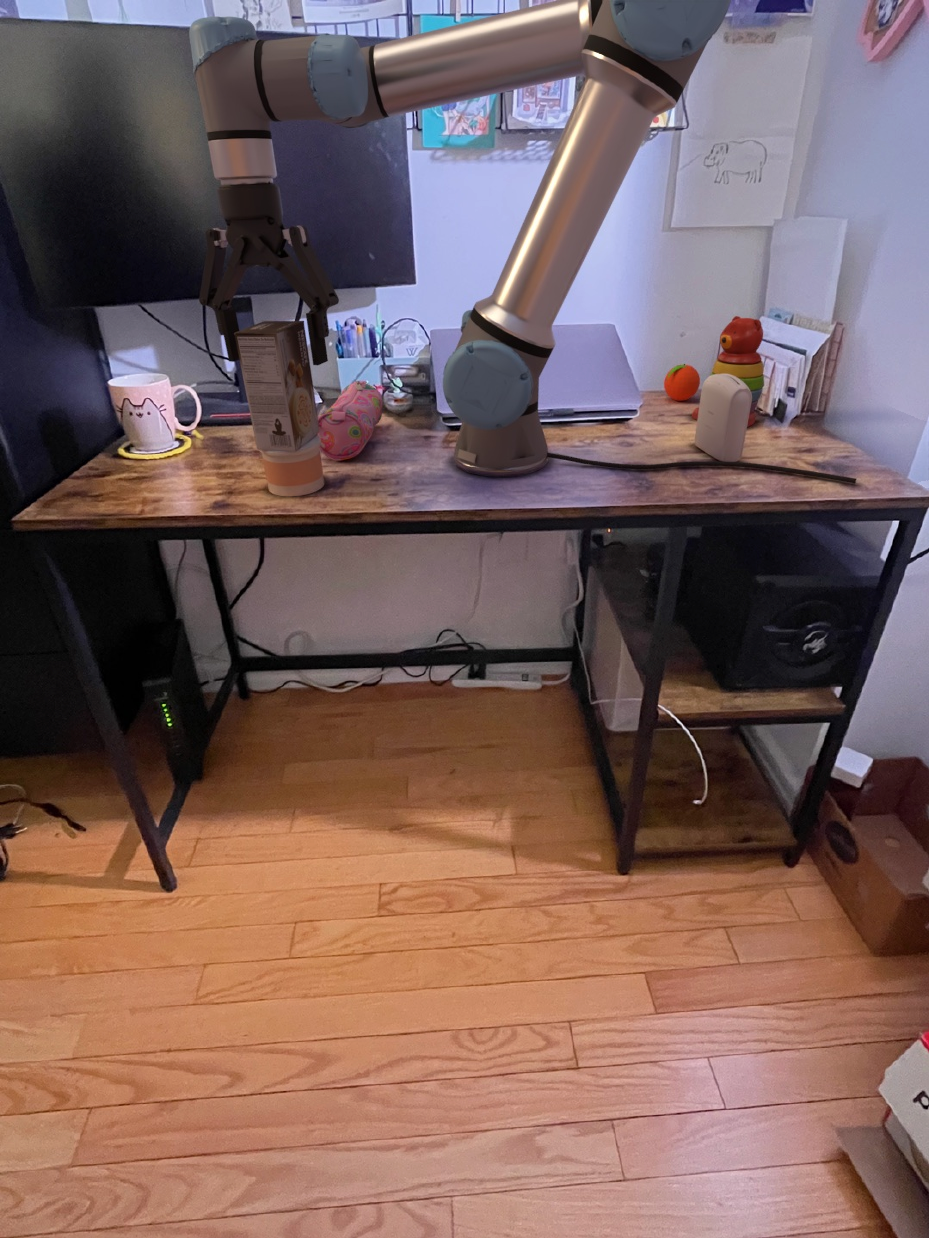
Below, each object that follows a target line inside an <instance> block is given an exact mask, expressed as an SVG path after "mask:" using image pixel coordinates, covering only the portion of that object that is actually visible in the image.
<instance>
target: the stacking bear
mask: <svg viewBox="0 0 929 1238" xmlns="http://www.w3.org/2000/svg"><path fill="white" fill-rule="evenodd" d="M763 338H764V329H763V326H762V322H761V320H759V319H756V318H751V317H740V316H739V315H736V316H734V317H733V318H732V319H731V321H730V322H729V323H728V324H726V326H725V327H724V329H723V330H722V332H721V333H720V336H719V344H720V347H721V348H722V352H720V354H719V355H718V356H717V359H716V360H715V361H714V364H713V366H712V370H711V373H710V375H709V376H711V375H714V374H731V375H733V376H735V377H737V378H739V379H740V380H742V381H743V382H744V383H745V384H746V385H747V386H748V388H749V389H750V391H751V394H752V402H751V407H750V413H749V419H748V424H747V428H748V427H750V426H752V425H754V423H756V413H755V410H756V407H757V406H758V403H759V400H760V398H761V395H762V392H763V387H764V383H765V375H764V362H763V360H762V356H761V354H760V353H758V352H757V351H758V349H759V348H760V346H761V344H762V342H763ZM698 412H699V406H698V407H696V408H695V409H693V411H692V414H691V418H693V420H696V421H697V419H698Z"/></svg>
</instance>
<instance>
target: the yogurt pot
mask: <svg viewBox="0 0 929 1238" xmlns="http://www.w3.org/2000/svg"><path fill="white" fill-rule="evenodd" d="M320 445H321V439H320V437H319V436H318V435H315V436H314V437H313V438H312V439H310V440H309V441H308V442H307V443H306V444H304V445H303V446H302V447H301V448H300V449H298V450H297V451H278V450H258V451H259V452H260V454H261V455H262V456H261V457H262V463H263V469H264V474H265V479H266V482H267V488H268V492H269V493H271V494H273V495H275V496H280V497H300V496H305V495H309V494H314V493H315V492H317V491H319V490H321V489H323V487H324V485H325V479H324V471H323V464H322V463H323V461H322V456H321V455H322V454H321V450H320V449H319V447H320Z"/></svg>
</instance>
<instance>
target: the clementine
mask: <svg viewBox="0 0 929 1238" xmlns="http://www.w3.org/2000/svg"><path fill="white" fill-rule="evenodd" d="M700 385H701V377H700V374H699V372H698V371H697V369H695V367H693V366H692V365H690V364H686V363H684V364H677V365H675V366H674V367H672V368H671V369H670V370H669V371H668V372H667V373H666V375H665V377H664V381H663V386H664V387H663V388H664V391H665V393H666V395H667V396H668V397H669V398H670V399H672V400H675V401H678V402H679V401H680V402H684V401H687V400H689V399H691V398H693V397H694V396H695V395H696V393H697V392H698V390H699V388H700Z"/></svg>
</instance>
